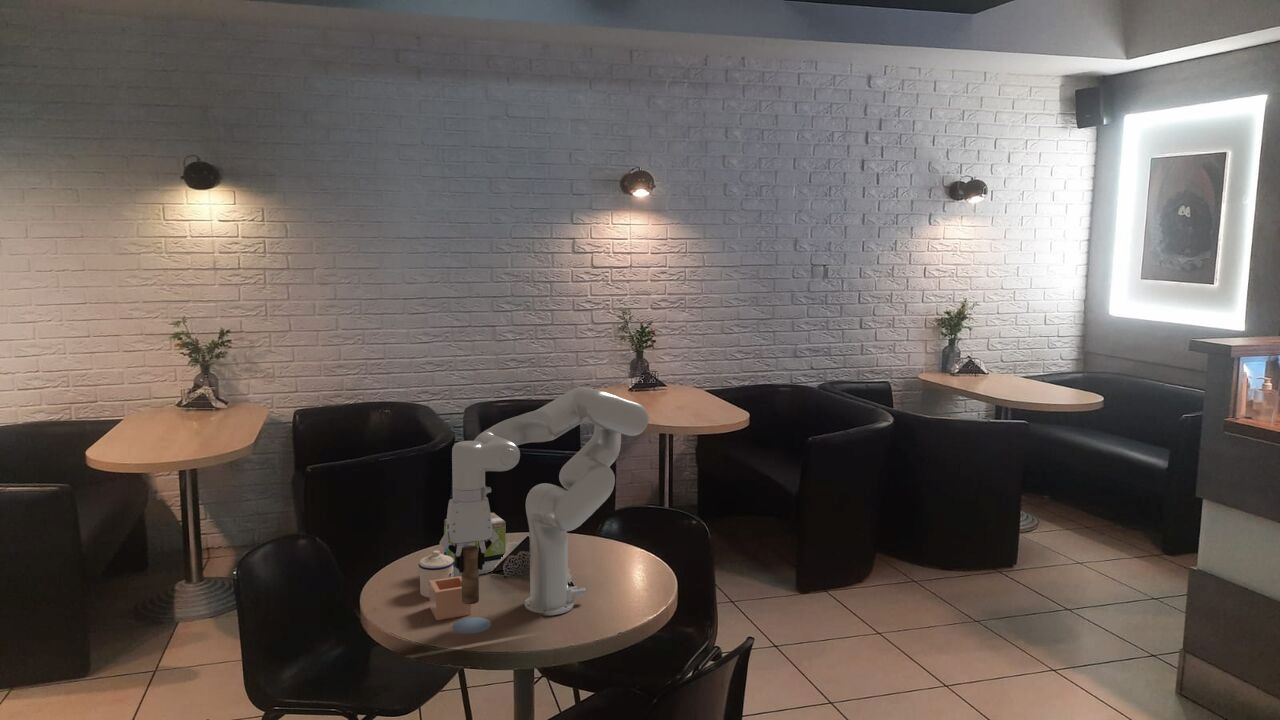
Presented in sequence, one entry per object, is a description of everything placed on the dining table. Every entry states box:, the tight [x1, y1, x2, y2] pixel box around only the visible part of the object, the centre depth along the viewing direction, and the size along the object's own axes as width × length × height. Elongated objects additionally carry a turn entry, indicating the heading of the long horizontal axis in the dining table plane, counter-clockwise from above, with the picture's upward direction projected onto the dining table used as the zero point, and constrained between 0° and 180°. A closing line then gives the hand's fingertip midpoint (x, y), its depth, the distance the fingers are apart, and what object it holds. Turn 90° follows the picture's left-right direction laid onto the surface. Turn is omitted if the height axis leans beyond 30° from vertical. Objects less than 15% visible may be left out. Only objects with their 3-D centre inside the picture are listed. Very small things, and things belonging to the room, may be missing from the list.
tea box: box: [443, 512, 507, 577], centre depth 247 cm, size 15×10×15 cm, turn 120°
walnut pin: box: [461, 545, 480, 605], centre depth 207 cm, size 4×4×13 cm
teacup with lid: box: [418, 550, 454, 598], centre depth 231 cm, size 12×9×12 cm
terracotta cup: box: [429, 576, 472, 621], centre depth 217 cm, size 8×8×8 cm
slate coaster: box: [452, 616, 492, 634], centre depth 209 cm, size 9×9×1 cm
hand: (469, 568), depth 207 cm, fingers closed on walnut pin, 4 cm apart
